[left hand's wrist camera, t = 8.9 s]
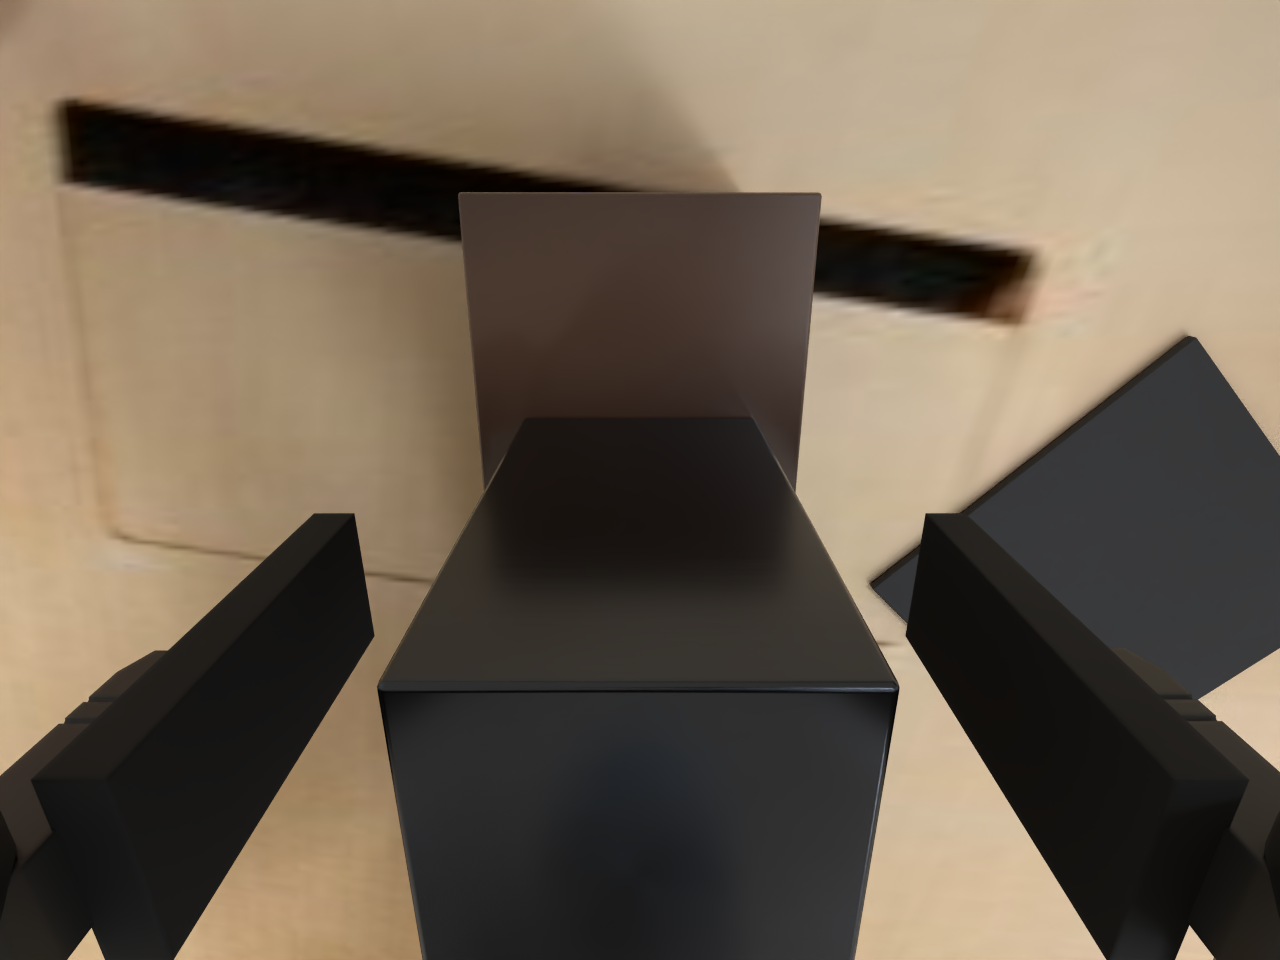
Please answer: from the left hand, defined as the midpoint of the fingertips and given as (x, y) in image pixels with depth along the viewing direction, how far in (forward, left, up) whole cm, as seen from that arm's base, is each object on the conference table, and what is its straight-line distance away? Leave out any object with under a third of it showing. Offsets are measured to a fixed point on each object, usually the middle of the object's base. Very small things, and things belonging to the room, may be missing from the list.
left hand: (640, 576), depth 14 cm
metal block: (0, 0, -2) cm, 2 cm away
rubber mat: (-8, +19, -12) cm, 24 cm away
